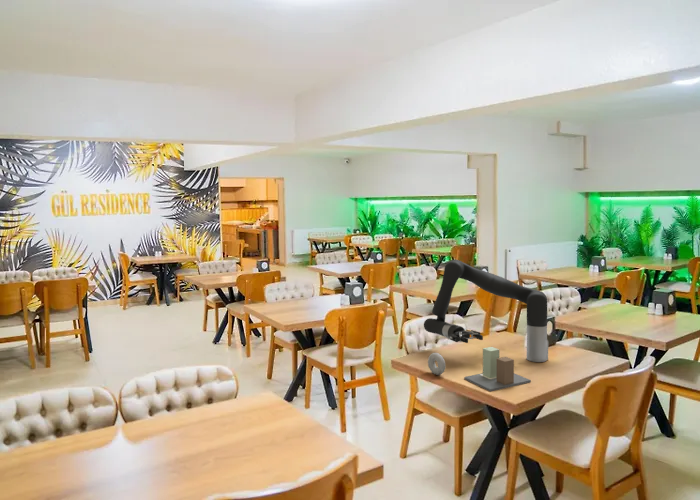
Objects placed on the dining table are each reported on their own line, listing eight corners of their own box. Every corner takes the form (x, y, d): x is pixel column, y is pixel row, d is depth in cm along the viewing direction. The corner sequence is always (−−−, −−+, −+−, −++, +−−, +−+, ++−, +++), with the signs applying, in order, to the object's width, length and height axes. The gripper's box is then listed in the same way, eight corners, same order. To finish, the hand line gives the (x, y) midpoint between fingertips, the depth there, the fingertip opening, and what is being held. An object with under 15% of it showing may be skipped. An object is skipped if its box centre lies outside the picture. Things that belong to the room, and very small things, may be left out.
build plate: (503, 370, 244) (503, 347, 243) (530, 382, 228) (531, 357, 227) (464, 379, 234) (464, 354, 233) (490, 391, 219) (490, 365, 218)
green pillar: (491, 372, 238) (491, 346, 237) (499, 376, 234) (499, 349, 232) (482, 374, 236) (482, 348, 235) (490, 378, 232) (490, 351, 230)
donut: (447, 376, 238) (447, 354, 237) (441, 378, 236) (441, 356, 235) (431, 370, 246) (431, 349, 245) (426, 372, 244) (426, 351, 243)
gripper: (441, 326, 257) (462, 333, 243) (465, 322, 263) (486, 329, 249) (441, 342, 258) (462, 349, 243) (465, 337, 264) (487, 344, 250)
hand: (474, 339), depth 246 cm, fingers open, 8 cm apart
